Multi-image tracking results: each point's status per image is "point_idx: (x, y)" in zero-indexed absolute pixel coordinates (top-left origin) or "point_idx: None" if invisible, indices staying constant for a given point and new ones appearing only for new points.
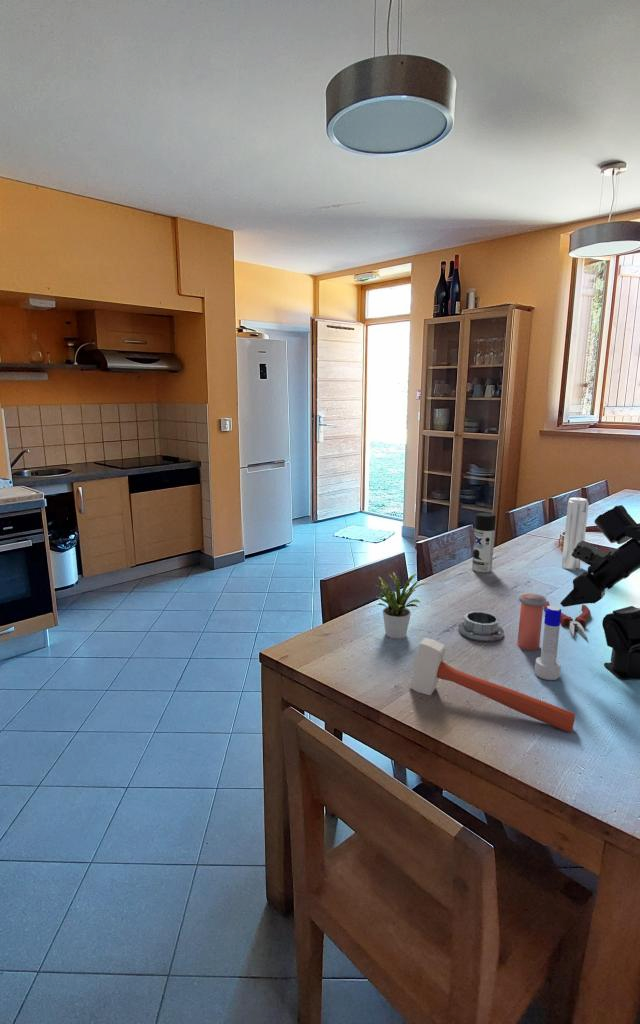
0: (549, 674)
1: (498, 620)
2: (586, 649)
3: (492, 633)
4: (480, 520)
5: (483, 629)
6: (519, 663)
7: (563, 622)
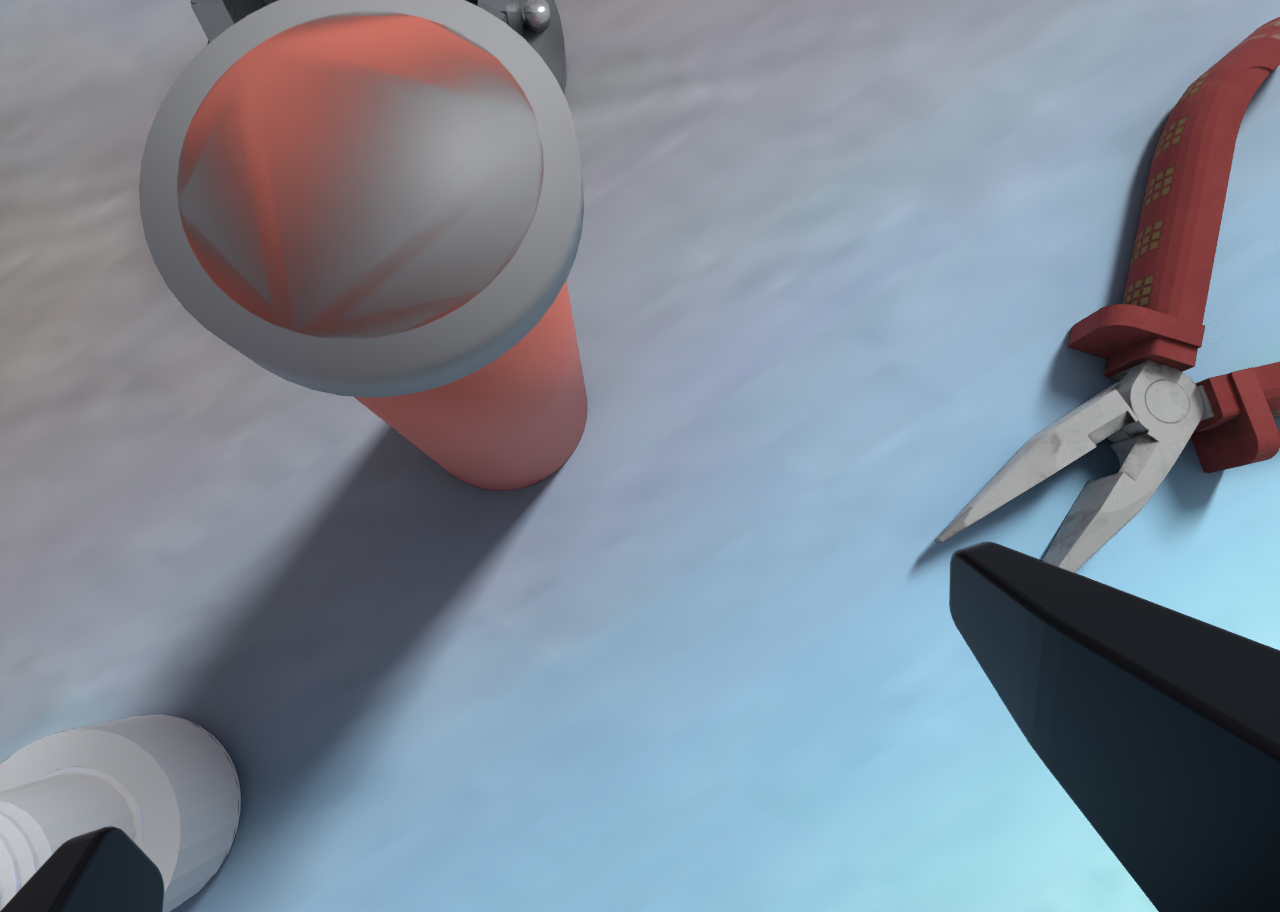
0: None
1: None
2: (853, 720)
3: None
4: None
5: None
6: (164, 561)
7: (1094, 335)
